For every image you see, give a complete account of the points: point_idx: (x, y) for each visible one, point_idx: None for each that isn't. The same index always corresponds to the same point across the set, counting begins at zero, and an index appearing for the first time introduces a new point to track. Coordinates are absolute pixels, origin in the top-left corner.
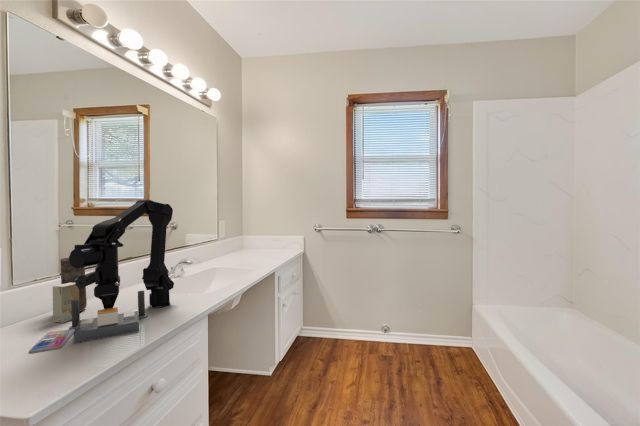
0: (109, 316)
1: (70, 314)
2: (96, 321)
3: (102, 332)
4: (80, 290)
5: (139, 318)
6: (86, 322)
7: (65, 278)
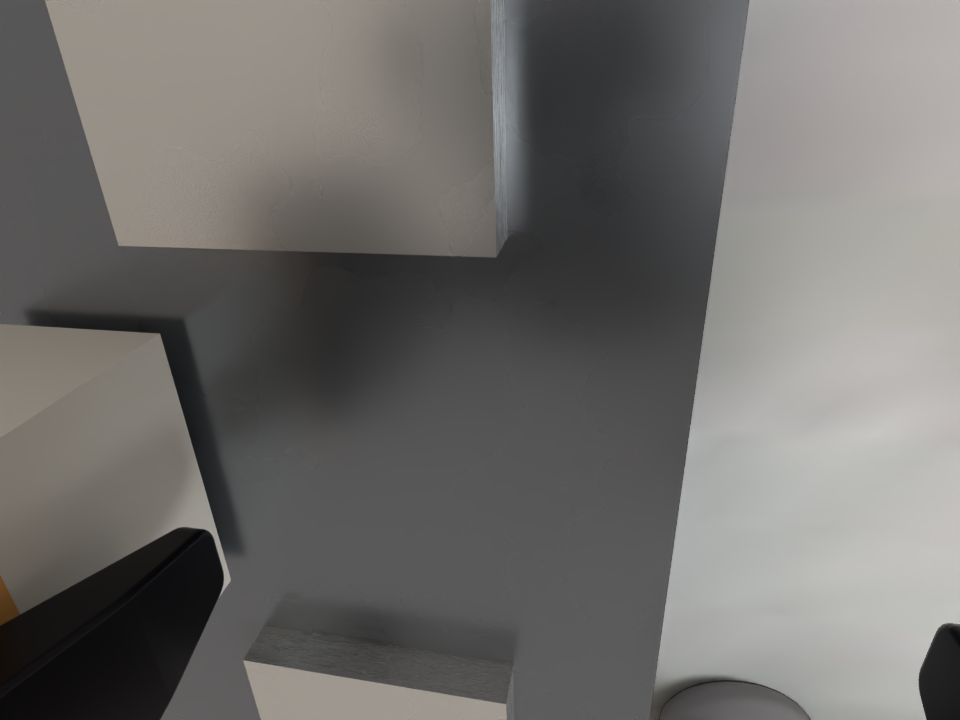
0: None
1: None
2: (366, 288)
3: None
4: None
5: (667, 705)
6: (150, 119)
7: None
